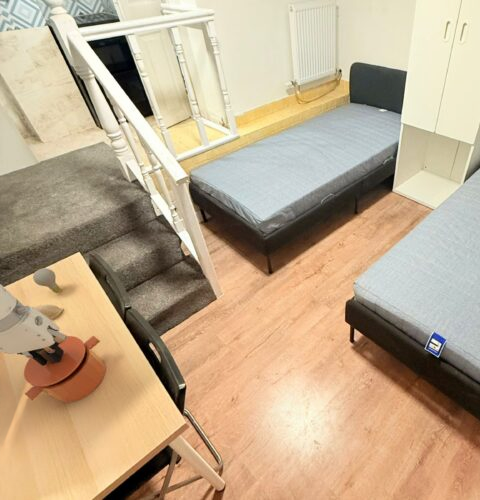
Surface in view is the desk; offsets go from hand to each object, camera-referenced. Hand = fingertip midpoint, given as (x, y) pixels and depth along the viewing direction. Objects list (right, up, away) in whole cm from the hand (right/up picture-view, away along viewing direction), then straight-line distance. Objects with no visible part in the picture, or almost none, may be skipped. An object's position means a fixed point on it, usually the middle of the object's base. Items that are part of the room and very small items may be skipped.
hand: (53, 358), depth 81 cm
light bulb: (-22, +13, +30) cm, 40 cm away
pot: (+1, -8, +8) cm, 11 cm away
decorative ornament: (-20, +6, +23) cm, 31 cm away
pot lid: (0, -1, +1) cm, 1 cm away
